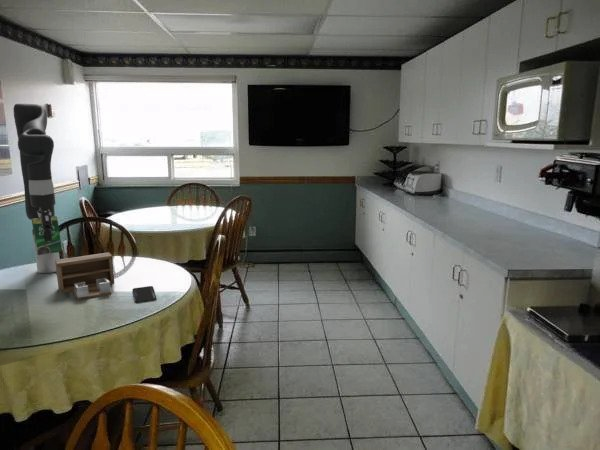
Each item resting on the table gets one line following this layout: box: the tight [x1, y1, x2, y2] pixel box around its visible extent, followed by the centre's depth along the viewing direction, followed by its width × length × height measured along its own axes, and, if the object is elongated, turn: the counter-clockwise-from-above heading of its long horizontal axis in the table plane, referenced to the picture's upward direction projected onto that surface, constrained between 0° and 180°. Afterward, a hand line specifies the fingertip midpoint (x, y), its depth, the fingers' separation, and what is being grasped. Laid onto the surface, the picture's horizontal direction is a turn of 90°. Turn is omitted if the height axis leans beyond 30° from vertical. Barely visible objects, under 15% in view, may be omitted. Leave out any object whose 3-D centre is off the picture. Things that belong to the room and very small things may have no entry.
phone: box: [132, 285, 157, 304], centre depth 168 cm, size 8×1×15 cm
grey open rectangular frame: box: [74, 278, 112, 298], centre depth 168 cm, size 6×12×4 cm, turn 126°
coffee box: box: [31, 215, 63, 255], centre depth 156 cm, size 8×3×13 cm, turn 126°
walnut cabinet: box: [55, 251, 115, 301], centre depth 172 cm, size 18×20×12 cm
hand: (47, 239), depth 156 cm, fingers closed on coffee box, 3 cm apart
